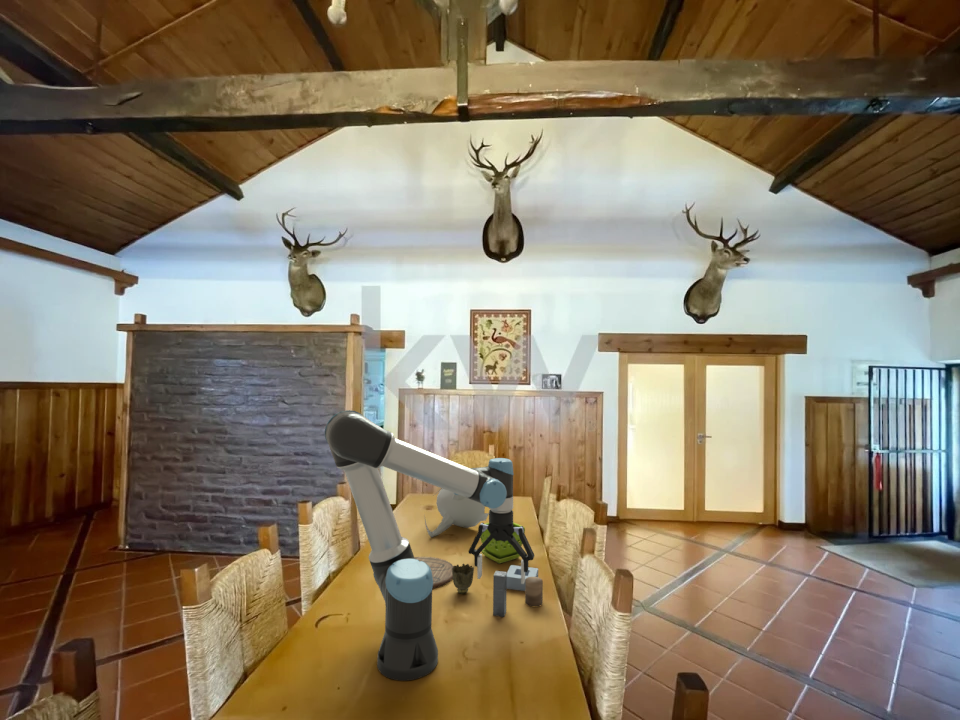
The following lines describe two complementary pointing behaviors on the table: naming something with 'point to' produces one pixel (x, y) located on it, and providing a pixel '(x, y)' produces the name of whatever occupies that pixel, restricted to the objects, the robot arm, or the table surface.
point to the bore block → (519, 577)
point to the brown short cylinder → (534, 591)
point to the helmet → (457, 512)
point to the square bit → (499, 593)
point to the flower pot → (500, 547)
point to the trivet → (438, 570)
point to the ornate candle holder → (462, 577)
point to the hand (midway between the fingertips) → (501, 579)
